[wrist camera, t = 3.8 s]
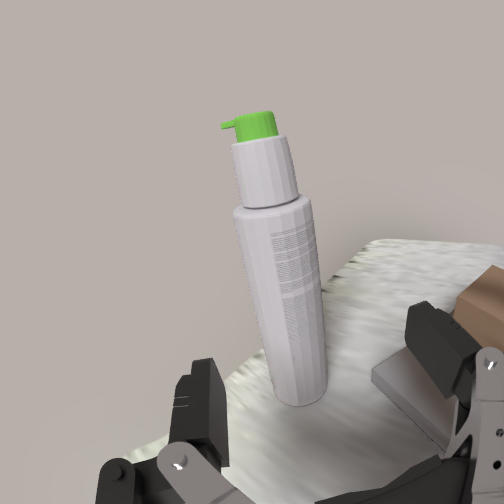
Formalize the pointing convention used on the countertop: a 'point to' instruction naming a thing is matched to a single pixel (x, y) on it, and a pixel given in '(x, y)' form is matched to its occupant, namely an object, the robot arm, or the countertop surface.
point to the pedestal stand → (416, 378)
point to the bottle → (279, 259)
